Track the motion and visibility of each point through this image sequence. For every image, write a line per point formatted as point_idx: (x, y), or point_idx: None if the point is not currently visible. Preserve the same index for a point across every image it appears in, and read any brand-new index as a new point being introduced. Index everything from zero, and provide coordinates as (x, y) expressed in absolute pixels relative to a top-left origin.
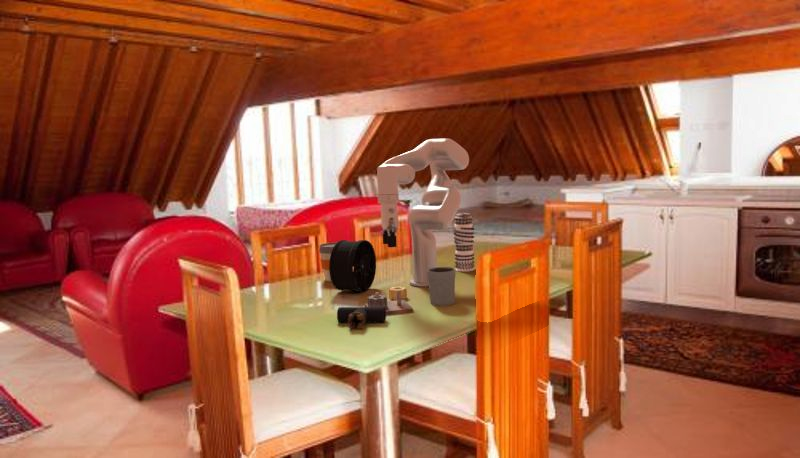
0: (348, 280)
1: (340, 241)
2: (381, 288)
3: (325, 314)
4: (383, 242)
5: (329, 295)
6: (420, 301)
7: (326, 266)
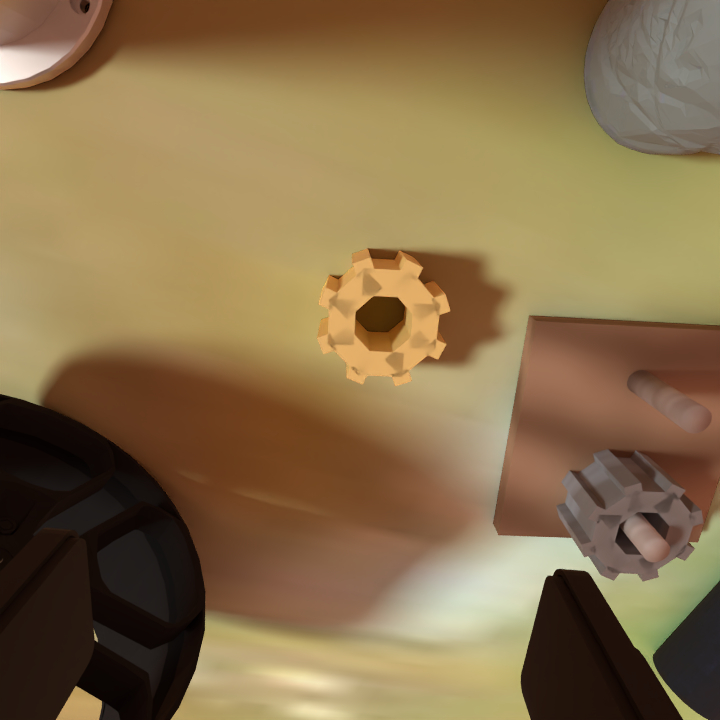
0: (166, 616)
1: None
2: (56, 332)
3: (520, 685)
4: (74, 672)
5: None
6: (547, 200)
7: None
